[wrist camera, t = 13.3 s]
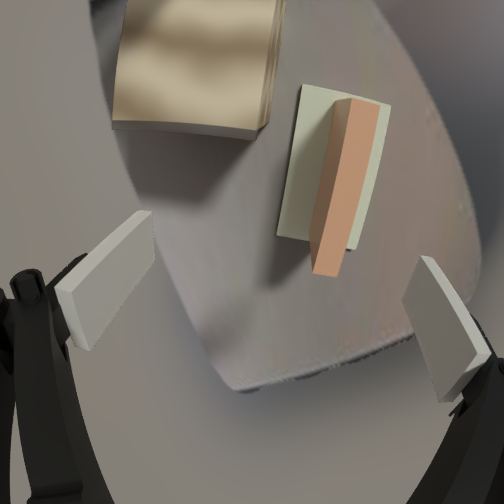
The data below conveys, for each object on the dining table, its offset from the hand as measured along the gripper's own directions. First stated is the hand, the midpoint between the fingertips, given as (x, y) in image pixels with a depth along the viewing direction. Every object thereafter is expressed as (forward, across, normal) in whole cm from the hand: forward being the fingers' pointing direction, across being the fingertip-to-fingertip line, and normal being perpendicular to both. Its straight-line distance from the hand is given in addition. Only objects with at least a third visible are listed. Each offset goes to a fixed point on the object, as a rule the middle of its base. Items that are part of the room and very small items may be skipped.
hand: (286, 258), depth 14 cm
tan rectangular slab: (+21, +5, 0) cm, 21 cm away
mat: (+22, +5, 0) cm, 22 cm away
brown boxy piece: (+22, -9, +11) cm, 26 cm away
